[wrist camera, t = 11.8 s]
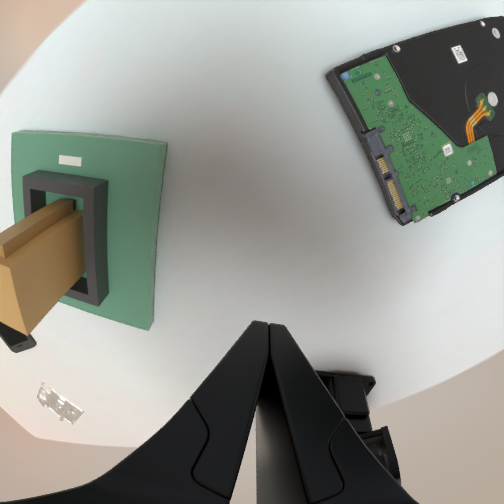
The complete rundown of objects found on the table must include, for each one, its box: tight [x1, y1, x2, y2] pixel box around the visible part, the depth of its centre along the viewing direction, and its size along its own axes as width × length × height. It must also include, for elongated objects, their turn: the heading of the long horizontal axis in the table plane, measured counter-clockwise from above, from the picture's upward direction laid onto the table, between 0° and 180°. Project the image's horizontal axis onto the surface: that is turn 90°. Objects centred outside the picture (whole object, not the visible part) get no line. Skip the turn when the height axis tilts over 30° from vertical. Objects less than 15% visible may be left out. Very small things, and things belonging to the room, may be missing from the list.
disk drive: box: [326, 16, 504, 226], centre depth 14 cm, size 10×3×15 cm
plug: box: [0, 198, 86, 336], centre depth 15 cm, size 5×3×8 cm, turn 168°
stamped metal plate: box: [37, 383, 84, 424], centre depth 33 cm, size 8×7×2 cm
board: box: [11, 131, 167, 331], centre depth 19 cm, size 14×13×3 cm
